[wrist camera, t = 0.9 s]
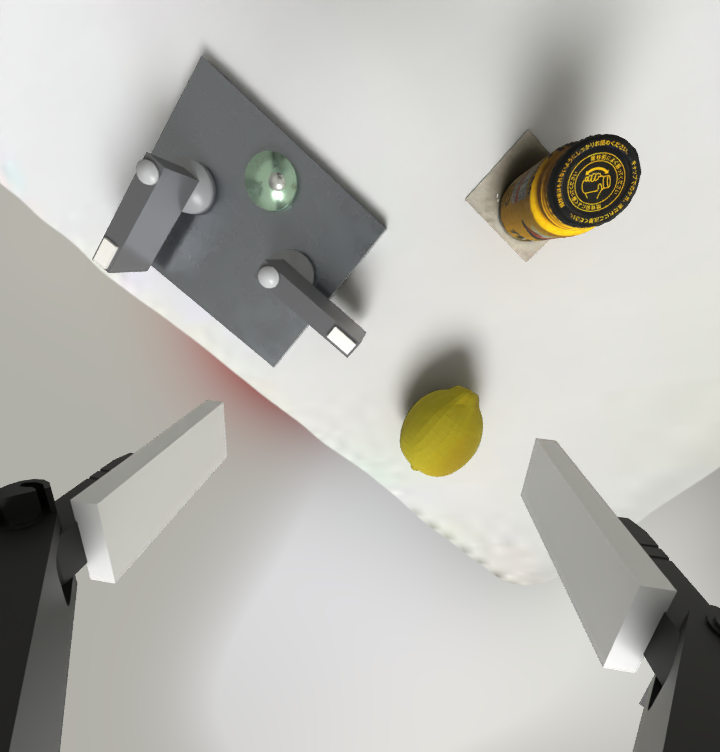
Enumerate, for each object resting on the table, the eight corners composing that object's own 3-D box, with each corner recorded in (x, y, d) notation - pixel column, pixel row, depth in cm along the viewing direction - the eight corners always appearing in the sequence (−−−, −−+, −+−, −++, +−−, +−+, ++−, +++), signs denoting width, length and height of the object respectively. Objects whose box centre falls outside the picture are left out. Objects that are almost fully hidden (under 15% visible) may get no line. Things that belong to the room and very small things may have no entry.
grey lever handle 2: (260, 276, 36) (230, 280, 30) (287, 239, 35) (261, 234, 29) (347, 352, 38) (336, 370, 32) (376, 319, 36) (371, 331, 30)
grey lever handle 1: (184, 148, 33) (135, 123, 27) (224, 183, 34) (185, 167, 28) (129, 249, 37) (75, 247, 31) (166, 280, 38) (120, 284, 32)
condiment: (525, 262, 34) (585, 263, 23) (464, 199, 33) (495, 168, 22) (590, 199, 32) (691, 166, 21) (526, 130, 31) (597, 56, 20)
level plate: (119, 232, 38) (103, 231, 36) (209, 62, 32) (195, 49, 30) (277, 364, 41) (270, 369, 39) (386, 229, 35) (385, 227, 33)
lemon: (433, 465, 42) (440, 510, 35) (383, 428, 42) (378, 465, 34) (498, 401, 39) (520, 435, 31) (443, 359, 38) (453, 384, 31)
